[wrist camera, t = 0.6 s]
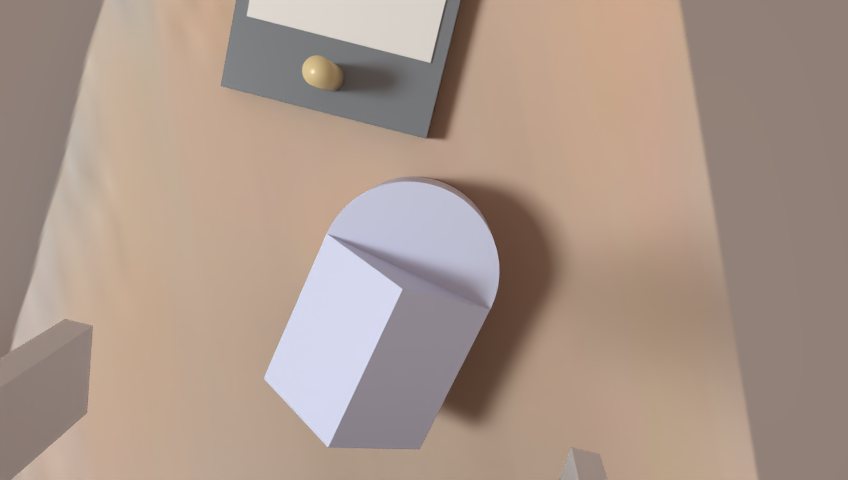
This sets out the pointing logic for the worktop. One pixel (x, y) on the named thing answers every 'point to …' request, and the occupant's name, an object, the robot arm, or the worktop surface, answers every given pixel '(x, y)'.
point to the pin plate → (344, 56)
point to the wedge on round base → (387, 315)
